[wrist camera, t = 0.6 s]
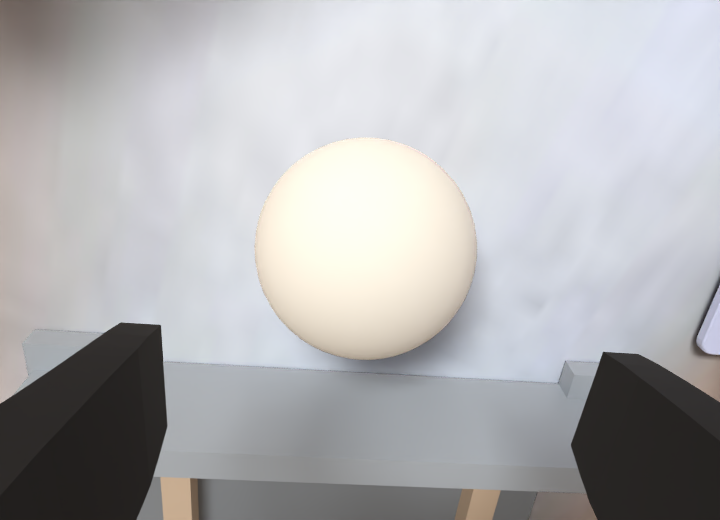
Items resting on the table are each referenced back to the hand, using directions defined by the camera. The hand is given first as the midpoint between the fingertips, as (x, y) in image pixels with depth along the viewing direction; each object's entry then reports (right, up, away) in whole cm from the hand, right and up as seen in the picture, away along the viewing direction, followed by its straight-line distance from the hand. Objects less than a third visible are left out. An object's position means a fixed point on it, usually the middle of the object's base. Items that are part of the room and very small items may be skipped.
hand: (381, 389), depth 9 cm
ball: (0, +2, +5) cm, 6 cm away
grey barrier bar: (-1, -2, +10) cm, 11 cm away
